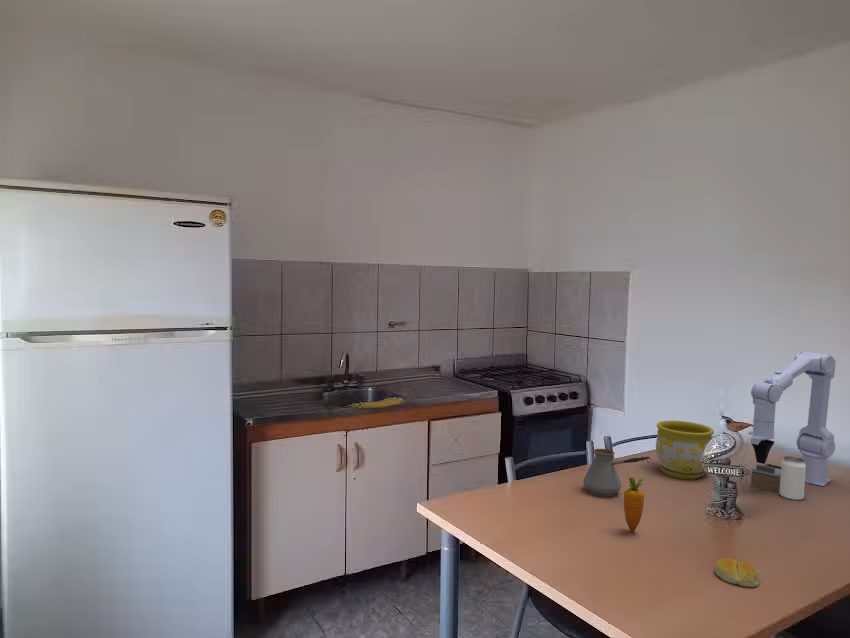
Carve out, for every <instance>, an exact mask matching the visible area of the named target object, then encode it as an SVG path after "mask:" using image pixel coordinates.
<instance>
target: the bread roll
mask: <svg viewBox="0 0 850 638" xmlns="http://www.w3.org/2000/svg"><path fill="white" fill-rule="evenodd" d="M714 572H715V574H716V575H717V576H718V577H719V578H721V580H723V581H725V582H726V583H729V584H732V585H739V586H741V587H747V588H755V587H757V586H759V584H760V577H761V571H760V570H759V569H758V568H757V567H756V566H755V564H753V563H752V562H749V561H747V560H741V561H737V560H736V559H734V558H731V557H723V558H720V559H719V560H718V561H716V563H715V565H714Z"/></svg>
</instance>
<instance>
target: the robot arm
mask: <svg viewBox="0 0 850 638" xmlns="http://www.w3.org/2000/svg"><path fill="white" fill-rule="evenodd" d="M793 360H794V361H793V362H792V363H791V364H790V365H789V366H787V368H785V369H784V370H775V372H774V373H773V374H771V375H770V376H769V377H767V378H765V380H763V381H758V382H756V383H754V384H753V385H752V388H751V390H750V395H751V397H752V404H753V405H754V410H753V424H752V430H751V431H748V435H751V439H750V444H751V445H752V448H753V450H754V454H755V455H754V456H755V459H756V463H757V464H761V465H765V464H766V463H767V460H768V456H769V454H770V451H771V449H772V447H773V446H774V444H775V441H774V439H775V419H776V418H775V417H776V404H777V403H778V402H779V401H780V398H781V397H782V395H783V393H784V392H785V391H786V390H787V389H789V388H790V387H791V386H793V383H794V382H793V381H794V379H795V378H797V377H799V376H800V375H802V374H803V373H804V374H805V375H807V376H808V377H809V378H810V379H811V386H810V387H811V389H810V398H809V408H808V416H807V425H806V426H804V427H801V428H800V429H799V432H798V436H797V438H796V441H795V445H796V447H797V449H798V450H799V453H800V454H801V459H803V460H805V461H804V463H805V465H806V472H805V483H808V484H812V485H816V486H820V487H824V486H826V485H827V484H829V482H831V480H832V479H831V478H829V477H828V476H829V459H828V458H830V457H832V456H833V455H834V453H835V451H836V444H835V434H833V433H832V432H831V431H830V430H829V429H828V428H827V420H828V409H829V402H830V401H829V400H830V390H831V381H832V379H834V378H835V374H836V373H835V371H836V363H837V362H836V360H835V358H834V356H833V355H832V354H830V353H818V352H810V351H806V350H805V351H804V350H801V351H798V352H797V354H795V355H794V359H793Z"/></svg>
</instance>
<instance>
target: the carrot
mask: <svg viewBox="0 0 850 638" xmlns="http://www.w3.org/2000/svg"><path fill="white" fill-rule="evenodd" d="M628 480H629V483H630V484H629V483H628V485H629V487H628V488H626V489H625V490H624V493H623V511H624V517H625V521H626V524H627V527H628V529H629V531H630V532H631V533H634V532H635V531H636V529H637V527H638V526H639V524H640V523H641V518H642V516H643V512H644V502H645V493H644V492H643V491H642V490H641V489H639V487H640V486H642V484H643V480H644V477H640V478H639V479H638V482H636V480H635V478H634V476H632V475H629V476H628Z"/></svg>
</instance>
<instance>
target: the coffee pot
mask: <svg viewBox="0 0 850 638" xmlns="http://www.w3.org/2000/svg"><path fill="white" fill-rule="evenodd" d="M592 452H593V453H594V458H593V460H592V462H591V464H590V466H589V468H588V470H587V472H586V473H585V476H584V478H583V481H582V482H583V485H584V487H585V488H586V489H587V490H588V491H589V493H591V494H593V495H595V496H600V497H612V496H614V495H616V494H617V493H618V492H619V491H620V490H621V488H622V487H623V486H622V482H621V480H620V477H619V474H618V472H617V469H616V468H617V467H616V465H621V464H628V463H637V462H640V461H642V462H643V461H645V460H646V462H647V464H650V465H651V464H652V463H653V459H652V458H651V457H650V456H641V457H632V458H628V459H623V460H617V461H613V457H614V455H615V454H616V453H615V451H614V450H612V449H611V450H610V449H607V448H595V449H593V451H592ZM649 459H650V462H649V461H648V460H649Z"/></svg>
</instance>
